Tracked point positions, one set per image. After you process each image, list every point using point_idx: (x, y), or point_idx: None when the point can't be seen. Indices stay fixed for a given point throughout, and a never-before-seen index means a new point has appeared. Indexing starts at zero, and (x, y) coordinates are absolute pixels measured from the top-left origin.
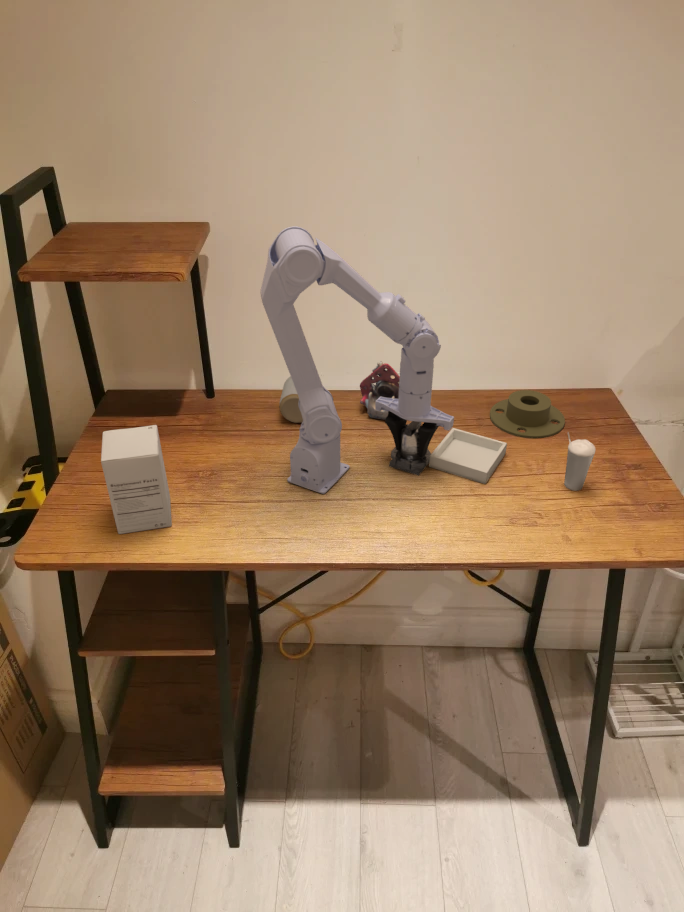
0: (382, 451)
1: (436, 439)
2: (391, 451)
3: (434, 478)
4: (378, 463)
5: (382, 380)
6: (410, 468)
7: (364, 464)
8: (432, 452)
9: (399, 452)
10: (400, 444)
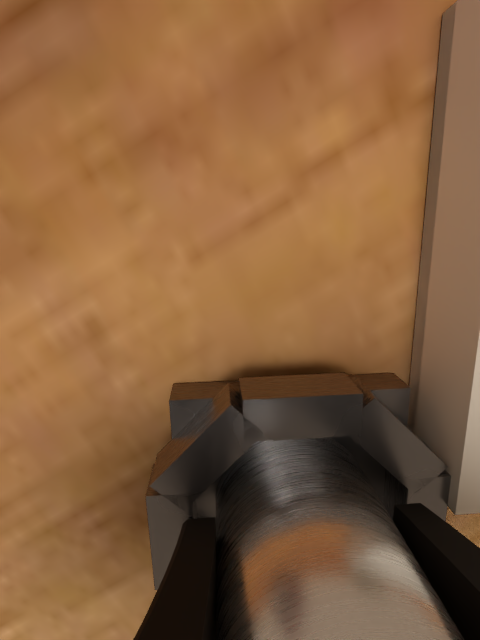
0: (57, 461)
1: (329, 102)
2: (157, 589)
3: (467, 525)
4: (114, 573)
5: None
6: None
7: (49, 619)
8: (462, 471)
9: (195, 506)
10: (216, 631)
